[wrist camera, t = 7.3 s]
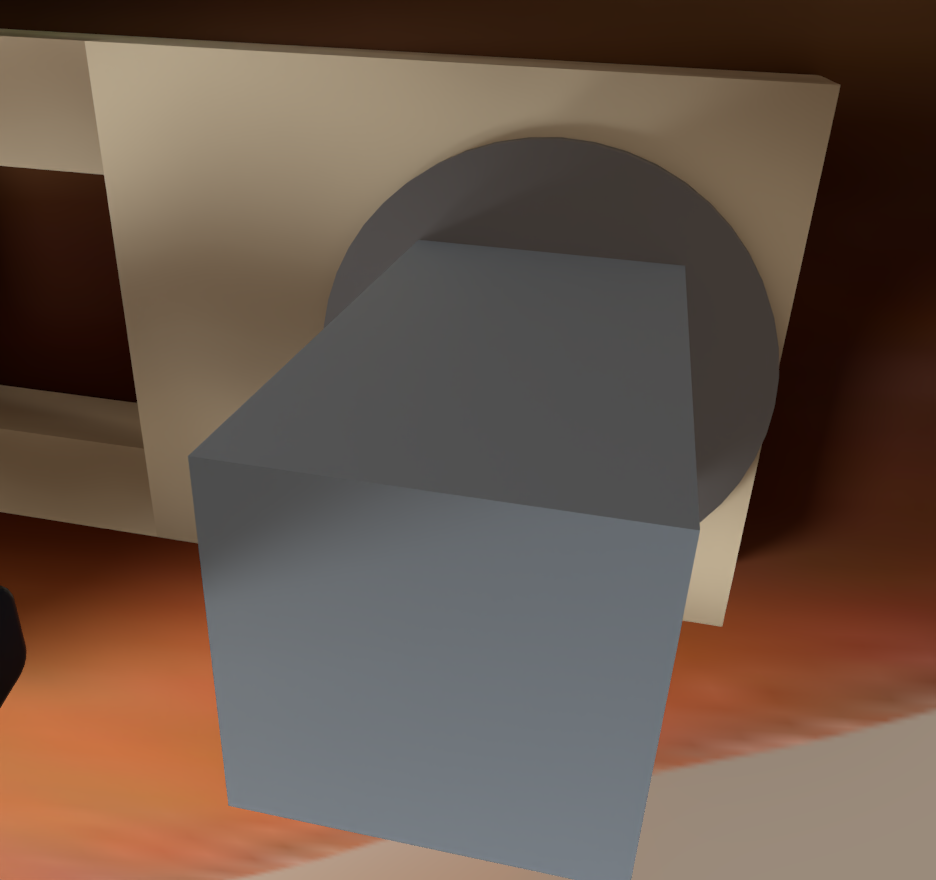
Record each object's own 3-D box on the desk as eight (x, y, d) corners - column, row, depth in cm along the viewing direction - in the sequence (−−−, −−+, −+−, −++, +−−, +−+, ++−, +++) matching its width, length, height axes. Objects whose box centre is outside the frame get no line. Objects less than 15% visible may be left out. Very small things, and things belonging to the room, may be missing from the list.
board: (717, 568, 19) (722, 626, 17) (-49, 455, 22) (-111, 494, 20) (819, 75, 14) (840, 85, 13) (-163, 19, 18) (-255, 21, 16)
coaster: (731, 585, 17) (732, 598, 16) (336, 525, 18) (329, 536, 18) (825, 156, 13) (828, 160, 13) (322, 120, 14) (314, 122, 14)
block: (647, 501, 16) (628, 891, 9) (414, 468, 17) (228, 805, 10) (684, 265, 14) (700, 530, 7) (418, 239, 15) (187, 455, 8)
